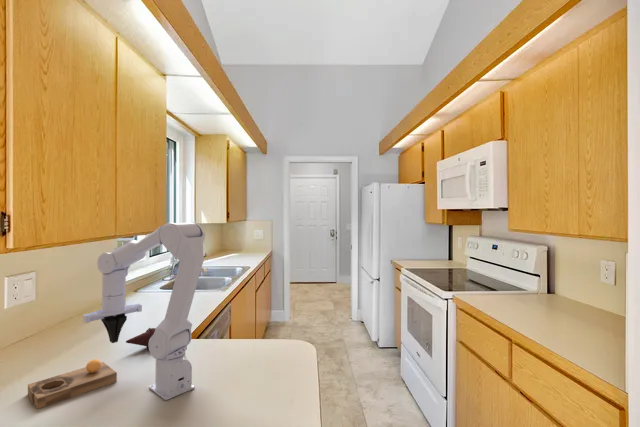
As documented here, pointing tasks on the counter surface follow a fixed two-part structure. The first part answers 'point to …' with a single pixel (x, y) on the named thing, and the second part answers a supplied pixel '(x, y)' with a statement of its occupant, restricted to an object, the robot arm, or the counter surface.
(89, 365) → the ball
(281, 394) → the counter surface
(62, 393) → the board
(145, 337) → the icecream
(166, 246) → the robot arm
